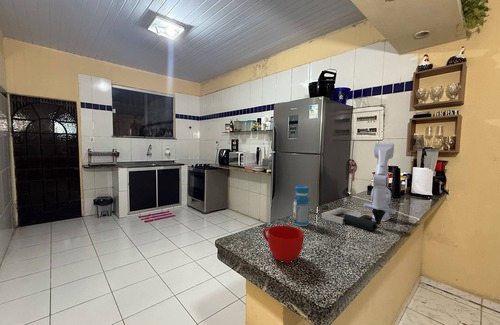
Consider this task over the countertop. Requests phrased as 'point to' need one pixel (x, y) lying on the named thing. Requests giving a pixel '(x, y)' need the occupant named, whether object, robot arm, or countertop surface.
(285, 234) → the ceramic cup
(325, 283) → the countertop surface
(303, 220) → the beverage bottle
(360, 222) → the pipe connector
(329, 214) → the aluminium bracket
